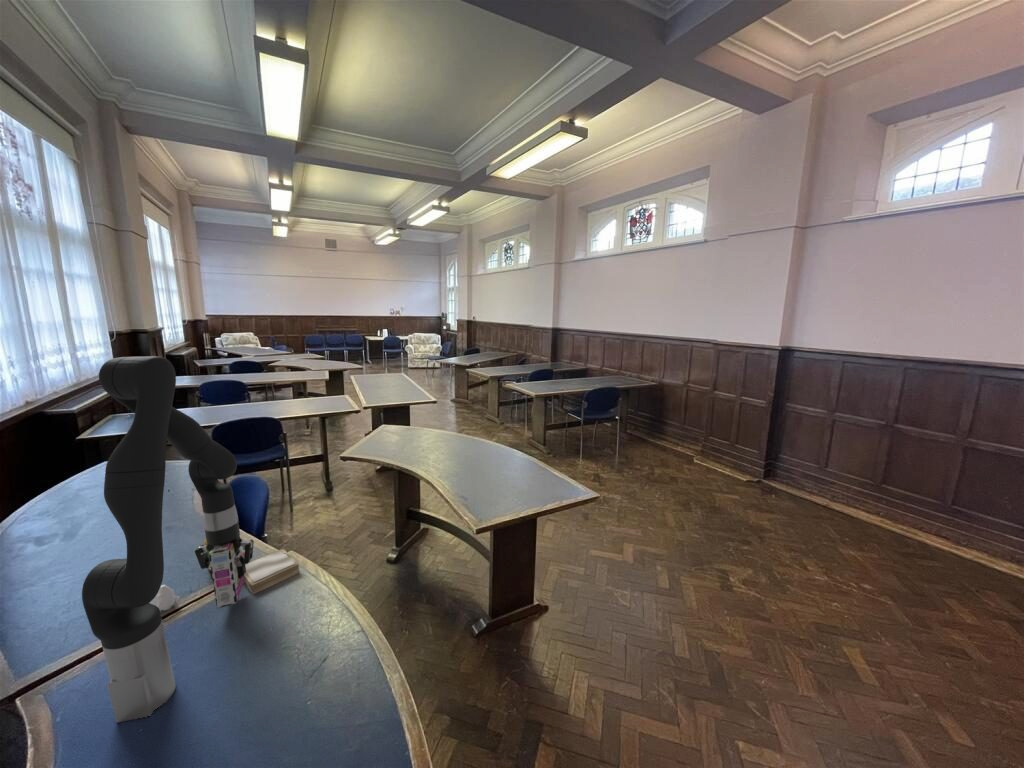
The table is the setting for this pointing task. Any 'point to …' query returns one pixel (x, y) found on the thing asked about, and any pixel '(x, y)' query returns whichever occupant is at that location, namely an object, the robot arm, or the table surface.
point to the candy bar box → (225, 574)
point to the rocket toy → (165, 598)
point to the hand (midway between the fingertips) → (229, 577)
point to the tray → (269, 570)
